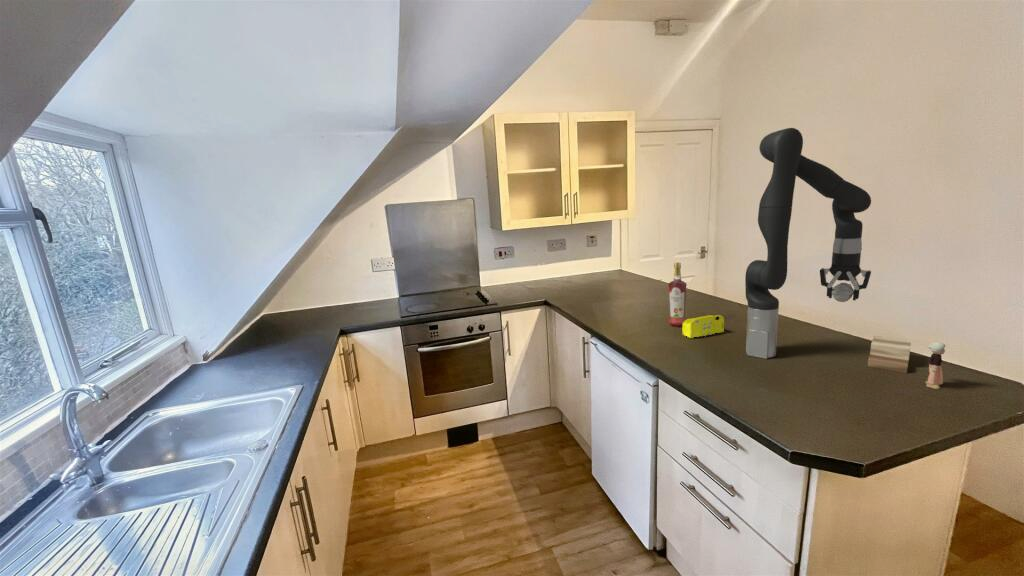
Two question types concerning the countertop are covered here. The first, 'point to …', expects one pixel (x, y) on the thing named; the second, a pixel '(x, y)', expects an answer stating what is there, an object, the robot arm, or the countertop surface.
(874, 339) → the plinth
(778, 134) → the robot arm
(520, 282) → the countertop surface
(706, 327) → the yellow toy chassis
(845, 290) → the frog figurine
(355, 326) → the countertop surface
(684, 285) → the liquor
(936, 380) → the grandmother figurine
